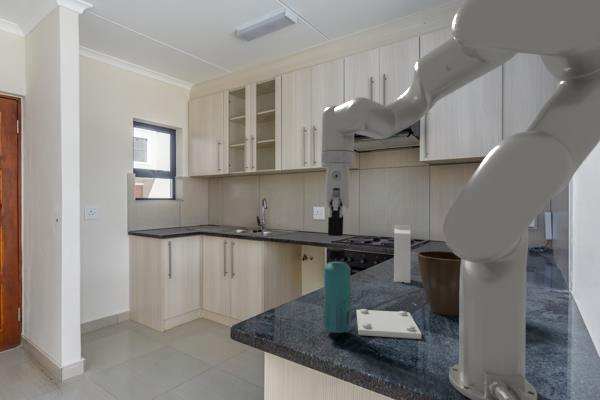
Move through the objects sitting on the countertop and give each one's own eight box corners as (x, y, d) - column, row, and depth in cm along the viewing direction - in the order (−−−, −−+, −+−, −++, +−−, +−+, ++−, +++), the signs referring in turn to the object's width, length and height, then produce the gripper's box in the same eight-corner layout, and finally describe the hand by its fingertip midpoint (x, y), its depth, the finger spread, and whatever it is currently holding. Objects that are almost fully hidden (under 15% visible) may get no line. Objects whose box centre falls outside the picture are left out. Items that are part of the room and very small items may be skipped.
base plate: (421, 338, 72) (421, 331, 72) (358, 335, 74) (358, 327, 74) (409, 316, 86) (409, 310, 86) (356, 313, 88) (356, 307, 88)
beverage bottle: (350, 341, 71) (351, 251, 71) (321, 338, 73) (321, 250, 73) (351, 329, 78) (352, 246, 78) (324, 327, 79) (325, 246, 79)
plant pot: (424, 299, 101) (424, 249, 101) (478, 309, 93) (478, 254, 93) (410, 313, 89) (411, 255, 89) (471, 325, 80) (471, 262, 80)
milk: (394, 278, 129) (394, 223, 129) (409, 279, 127) (409, 224, 127) (394, 282, 123) (394, 224, 123) (410, 283, 121) (410, 225, 122)
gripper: (354, 155, 66) (353, 238, 66) (352, 164, 83) (351, 230, 83) (318, 155, 67) (316, 237, 67) (323, 164, 84) (322, 229, 84)
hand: (335, 233), depth 75 cm, fingers open, 9 cm apart
